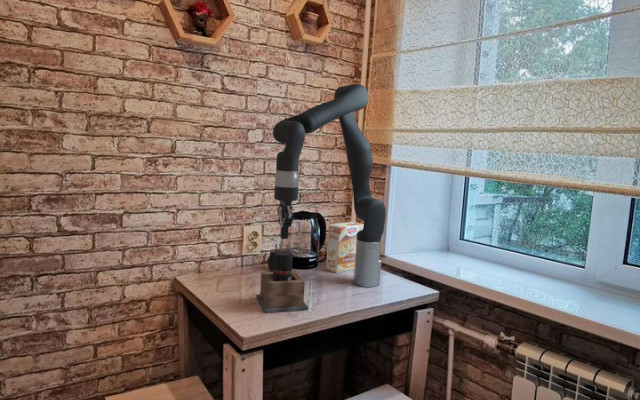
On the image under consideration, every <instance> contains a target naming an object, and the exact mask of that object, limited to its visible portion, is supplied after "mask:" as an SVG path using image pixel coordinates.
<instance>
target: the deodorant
mask: <svg viewBox="0 0 640 400" xmlns="http://www.w3.org/2000/svg"><path fill="white" fill-rule="evenodd" d="M292 271H293V252H292V251H290V250H289V251H288V250H282V251H276V252H274V271H272V272H273V281H291V278H292Z"/></svg>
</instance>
